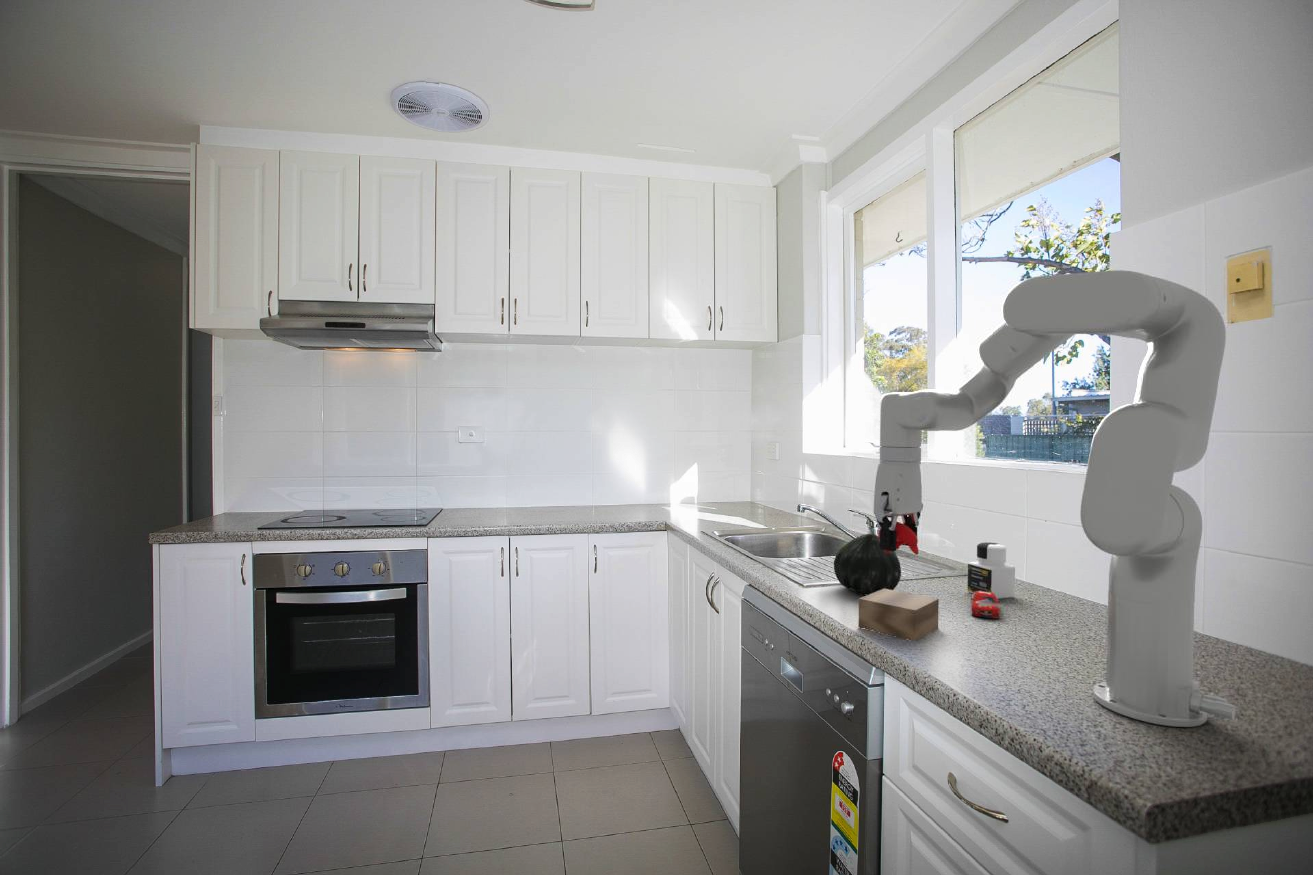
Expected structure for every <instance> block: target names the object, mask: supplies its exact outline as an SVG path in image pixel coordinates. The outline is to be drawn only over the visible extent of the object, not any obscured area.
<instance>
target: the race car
mask: <svg viewBox="0 0 1313 875" xmlns="http://www.w3.org/2000/svg"><path fill="white" fill-rule="evenodd" d="M970 600H971V616H973V617H981V618H986V619H987V618H988V619H995V620H996V619H998V620H999V619H1000V612H1001V611H1000V606H999V604H1000V603H1001V601H1000V600H999V599H997V598H996V596H995V594H994V593H992V592H987V591H976V592H974V593H972V595H971V598H970Z"/></svg>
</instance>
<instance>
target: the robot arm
mask: <svg viewBox="0 0 1313 875" xmlns="http://www.w3.org/2000/svg"><path fill="white" fill-rule="evenodd" d="M1001 305H1002V306H1001V316H1002V319H1003V322H1001V323H1000V324H999V325H998V326H997V327H996V328H994V329H993V330H992V331H991V332H990V333H989V334H987V335H986V336H985V337H984V338H983V339H981V340H980V341H979V343H978V345H977V349H976V350H977V355H978V357H979V360H980V362H981V366H980V367H979V369H978V370H977V371H976V372H975V374H974V375H972V377H971V378H969V379H968V380H967V381H965V382H964V383H963V384H962V385H960V386H959V387H958V388H957V389H955V390H946V389H945V390H944V389H921V390H916V391H912V392H889V393H884V394H883V395H882V396H881V400H880V412H879V413H880V414H879V415H880V420H879V423H880V424H879V425H880V427H879V428H880V429H879V463H878V465H877V471H876V476H875V481H874V482H875V484H874V492H873V494H874V495H873V496H874V498H873V514H874V516H875V519H876V521H877V523H878V529H879V530H880V549H882V550H888V551H895V552H896V551H897V550H898V549H897V530H894V529H895V525H896V522H898V517H900V516H901V520H902V524H904V525H906V526H907V527H909V528H910V529H911V530H912V531H913V532H914V533H915V534H916V536H917V537H918V527H919V524H920V522H919V520H920V518H921V513H922V510H923V508H924V504H923V502H922V501H923V500H922V498H923V495H922V493H923V491H922V489H923V488H922V485H923V484H922V473H921V466H920V465H921V464H922V431H925V432H940V431H941V432H943V431H944V432H945V431H948V432H951V431H952V432H954V431H955V432H956V431H961V430H962V431H963V430H965V429H967V428H969V427H972V426H973V425H975V424H976V423H978V422H980V421H981V420H982V419H984V418H985V417H986V416H987V415H989V414H990V413H991V412H992V411H994V410H995V409H997V407H999V406H1000V405H1001V404H1002V403H1003V402H1004V400H1005V399H1006V398H1007V397H1008V395H1009V393H1010V392H1011V391H1012V389H1013V388H1014V386H1015V383H1016V381H1017V380H1018V379H1019V378H1020V377H1021V376H1022V375H1024V374H1025V373H1027V372H1028V371H1029V370H1030V369H1031V368H1033V367H1034V366H1035V365H1036V364H1038V363H1039V362H1040V361H1042V360H1043V359H1044V358H1046V357H1047V356H1048V355H1050V354H1051V353H1052V352H1053V351H1055V350H1056V349H1058V348H1059V347H1060V346H1062V345H1063V344H1064V343H1065V342H1067V341H1068V340H1069V339H1071V338H1072V337H1073V336H1076V335H1107V336H1116V337H1122V338H1128V339H1136V340H1140V341H1143V342H1146V344H1147V348H1148V349H1147V353H1146V355H1145V357H1144V358H1143V361H1142V364H1141V366H1140V369H1139V371H1138V372H1139V373H1138V376H1137V384H1136V391H1135V395H1134V398H1133V402H1132V403H1128V404H1125V405H1122V406H1119V407H1118V408H1115V409H1114V410H1112V411H1111V412H1109V413H1108V414H1107V415H1106V416H1105V417H1104V418H1103V419H1102V420H1101V422H1100V423H1099V425H1098V426H1097V428H1096V430H1095V432H1094V434H1093V437H1092V440H1091V445H1090V449H1089V456H1088V461H1087V467H1086V474H1085V477H1084V484H1083V490H1082V491H1083V492H1082V495H1081V501H1080V515H1079V516H1080V523H1081V524H1080V525H1081V527H1082V530H1083V532H1084V534H1085V536H1086V537H1087V539H1088V541H1090V542H1091V544H1093V546H1095V547H1096V548H1098V549H1099V550H1100V551H1102V552H1104V553H1107V554H1110V555H1111V557H1110V558H1111V559H1110V564H1109V570H1108V571H1109V572H1108V588H1107V627H1106V628H1107V629H1106V630H1107V632H1106V636H1107V637H1106V678H1105V680H1106V681H1102V682H1099V683H1095V685H1094V686H1093V688H1092V696H1093V698H1094V699H1095V701H1096V702H1097V703H1099V704H1100V705H1102V706H1103V707H1105V708H1106V709H1108V710H1110V711H1113V712H1114V713H1117V714H1120V715H1121V716H1125V717H1128V718H1131V719H1134V720H1138V721H1141V722H1146V723H1150V724H1154V725H1161V726H1167V727H1175V728H1176V727H1177V728H1178V727H1179V728H1193V727H1194V728H1195V727H1198V726H1202V725H1203V724H1205V723H1206V722H1207V720H1208V714H1211V715H1214V716H1215V717H1219V718H1222V719H1224V720H1225V719H1226V720H1229V721H1234V720H1235V717H1236V705H1234V704H1230V703H1228V700H1227V698H1223V697H1219V696H1216V695H1214V696H1213V695H1210V694H1209V695H1208V694H1206V693H1205V691H1203V690H1200V681H1198V680H1195V679H1194V678H1193V676H1194V675H1193V674H1194V636H1195V635H1194V634H1195V633H1194V631H1195V601H1196V600H1195V598H1196V579H1197V578H1196V575H1197V566H1198V559H1199V553H1200V552H1199V551H1200V548H1201V541H1202V534H1203V516H1202V513H1201V509H1200V507H1199V505H1198V504H1197V502H1196V501H1195V499H1194V498H1193V496H1192V495H1190V494H1189V493H1188V492H1187V491H1185V490H1184V489H1182V488H1181V487H1178V486H1177V485H1174V484H1173V478H1174V474H1176V473H1179V472H1183V471H1187V470H1188V469H1190V468H1193V467H1194V466H1196V465H1197V464H1198V463H1199V462H1200V461H1202V459H1203V458H1204V456H1205V454H1206V452H1207V450H1208V444H1209V438H1210V433H1211V432H1210V431H1211V427H1212V422H1213V415H1214V411H1215V410H1214V409H1215V404H1216V401H1217V395H1218V387H1219V381H1220V375H1221V369H1222V366H1223V360H1224V354H1225V348H1226V340H1227V339H1226V338H1227V336H1226V334H1227V332H1226V326H1225V324H1226V323H1225V322H1224V318H1223V316H1222V314H1221V312H1220V311H1219V309H1218V308H1217V307H1216V305H1215V304H1214V303H1213V302H1212V301H1211V300H1209V299H1208V298H1207V297H1205V296H1204V295H1202V294H1201V293H1199V292H1198V291H1195V290H1193V289H1192V288H1189V287H1186V286H1184V285H1182V284H1180V283H1176V282H1173V281H1170V280H1168V279H1164V278H1161V277H1158V276H1157V277H1156V276H1153V275H1149V274H1146V273H1145V274H1144V273H1141V272H1138V271H1137V272H1136V271H1131V270H1121V269H1119V270H1117V269H1116V270H1115V269H1114V270H1103V271H1102V270H1101V271H1100V270H1099V271H1088V272H1079V273H1078V272H1077V273H1067V274H1065V273H1063V274H1051V275H1038V276H1034V277H1033V276H1032V277H1030V278H1026V279H1024V280H1021V281H1020V282H1018V283H1016V284H1015V285H1014V286H1013V287H1012V288H1011V289H1010V290H1009V291H1008V292H1007V294H1006V295H1005V298H1004V299H1003V302H1002V304H1001ZM889 519H890V520H889ZM903 546H905V547H909V546H908V544H907V543H906V544H904V545H903Z"/></svg>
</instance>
